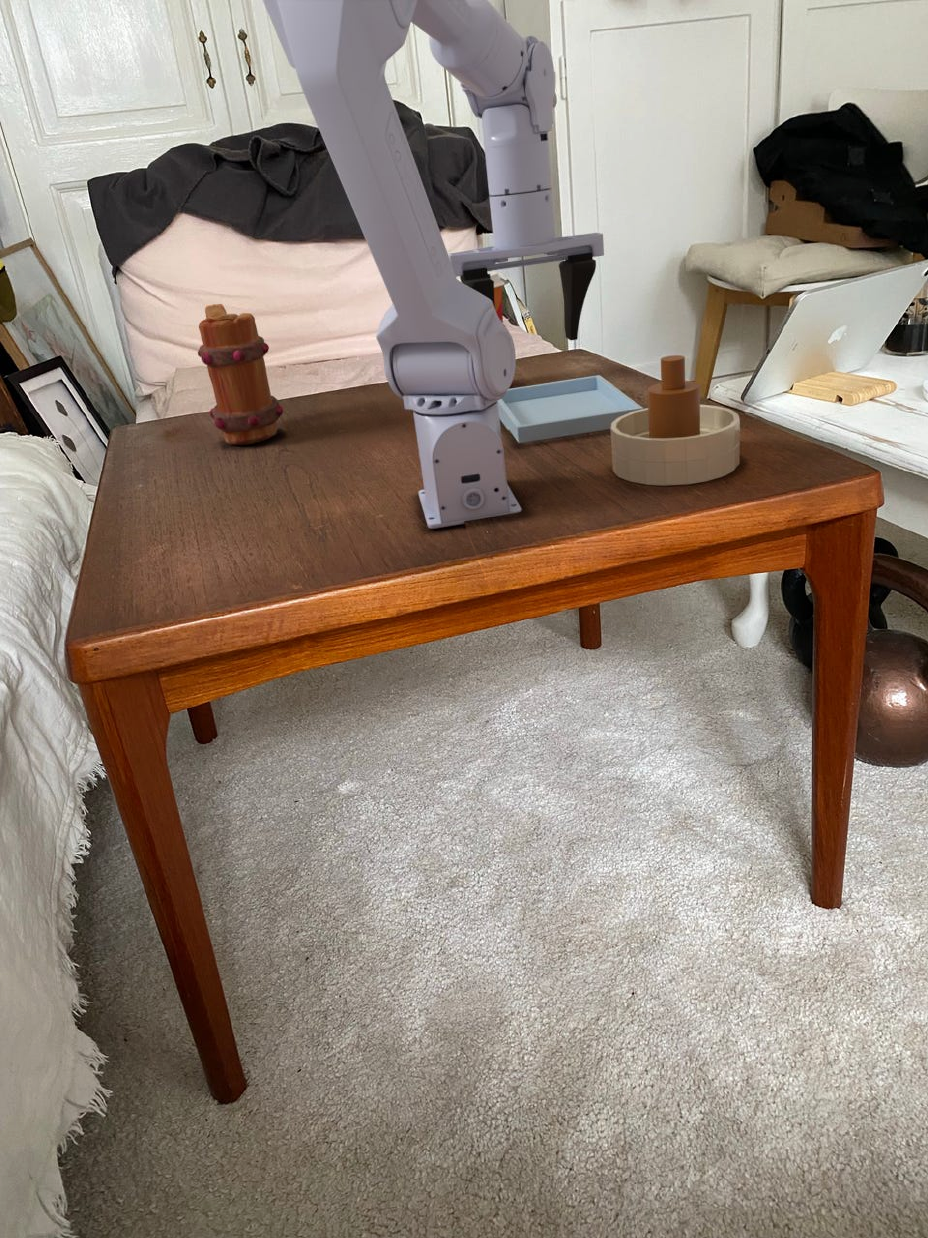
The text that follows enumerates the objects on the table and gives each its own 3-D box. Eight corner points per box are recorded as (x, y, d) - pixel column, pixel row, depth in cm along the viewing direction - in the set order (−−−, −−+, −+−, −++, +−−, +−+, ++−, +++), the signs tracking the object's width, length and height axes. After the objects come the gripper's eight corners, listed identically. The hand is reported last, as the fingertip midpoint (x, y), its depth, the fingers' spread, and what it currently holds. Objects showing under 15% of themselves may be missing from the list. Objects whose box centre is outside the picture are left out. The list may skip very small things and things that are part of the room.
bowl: (759, 478, 81) (760, 426, 79) (633, 498, 80) (631, 447, 78) (711, 444, 91) (711, 397, 89) (599, 462, 90) (596, 415, 88)
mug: (294, 440, 111) (266, 307, 104) (224, 455, 108) (192, 320, 102) (270, 416, 123) (244, 296, 116) (207, 429, 121) (177, 307, 114)
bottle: (707, 467, 83) (707, 358, 79) (659, 475, 83) (655, 366, 79) (690, 454, 87) (688, 349, 83) (643, 461, 87) (640, 356, 83)
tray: (644, 427, 98) (643, 407, 97) (519, 447, 97) (517, 427, 97) (600, 392, 114) (599, 374, 113) (492, 408, 113) (490, 391, 112)
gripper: (586, 181, 91) (594, 327, 97) (436, 201, 89) (454, 348, 95) (607, 181, 84) (614, 338, 90) (446, 204, 83) (464, 360, 89)
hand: (533, 344), depth 92 cm, fingers open, 7 cm apart
